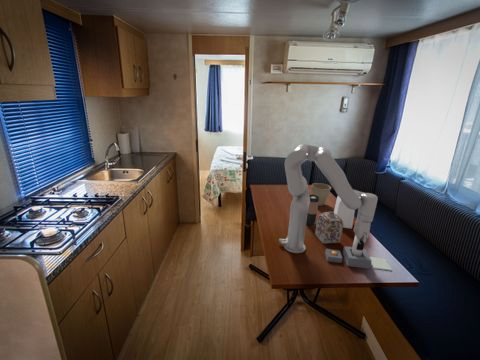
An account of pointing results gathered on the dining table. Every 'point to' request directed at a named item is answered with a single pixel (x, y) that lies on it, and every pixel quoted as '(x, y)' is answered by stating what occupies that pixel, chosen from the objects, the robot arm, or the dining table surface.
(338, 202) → the milk
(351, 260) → the grey square holder
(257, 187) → the dining table surface
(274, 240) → the dining table surface
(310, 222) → the travel mug
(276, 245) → the dining table surface
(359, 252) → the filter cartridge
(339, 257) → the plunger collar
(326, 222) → the decorative jar
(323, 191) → the plant pot
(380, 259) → the mat
